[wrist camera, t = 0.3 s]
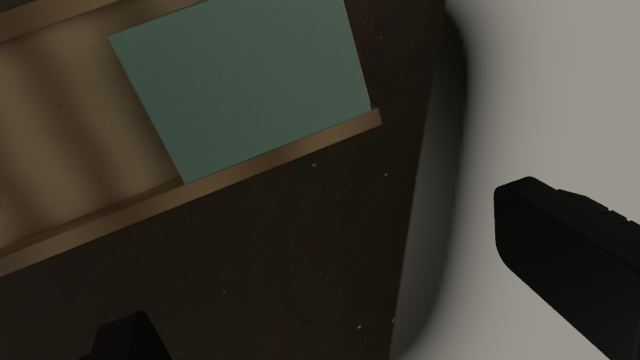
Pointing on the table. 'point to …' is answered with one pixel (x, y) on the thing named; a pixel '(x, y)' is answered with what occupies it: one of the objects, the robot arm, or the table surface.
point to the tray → (93, 132)
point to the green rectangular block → (242, 77)
